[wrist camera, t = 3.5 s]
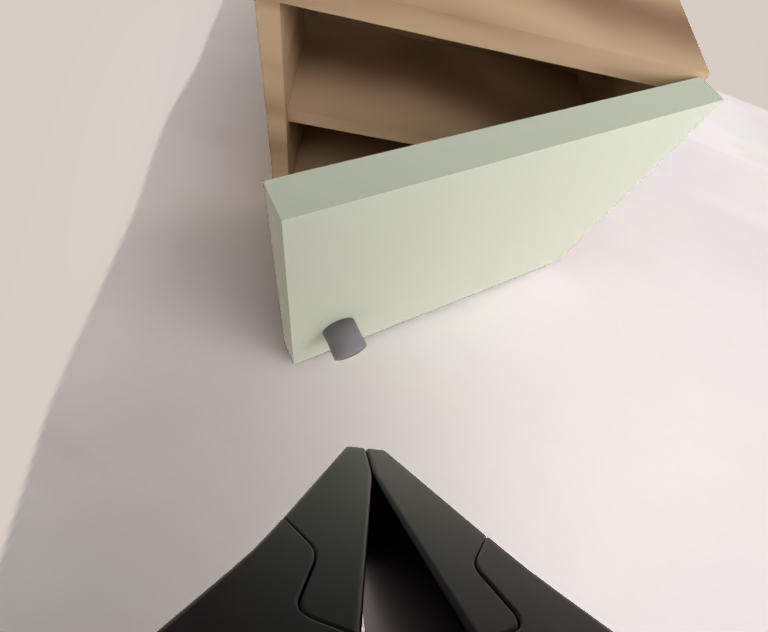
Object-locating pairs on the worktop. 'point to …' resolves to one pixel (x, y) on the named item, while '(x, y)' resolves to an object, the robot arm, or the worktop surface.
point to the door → (458, 212)
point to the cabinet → (451, 67)
